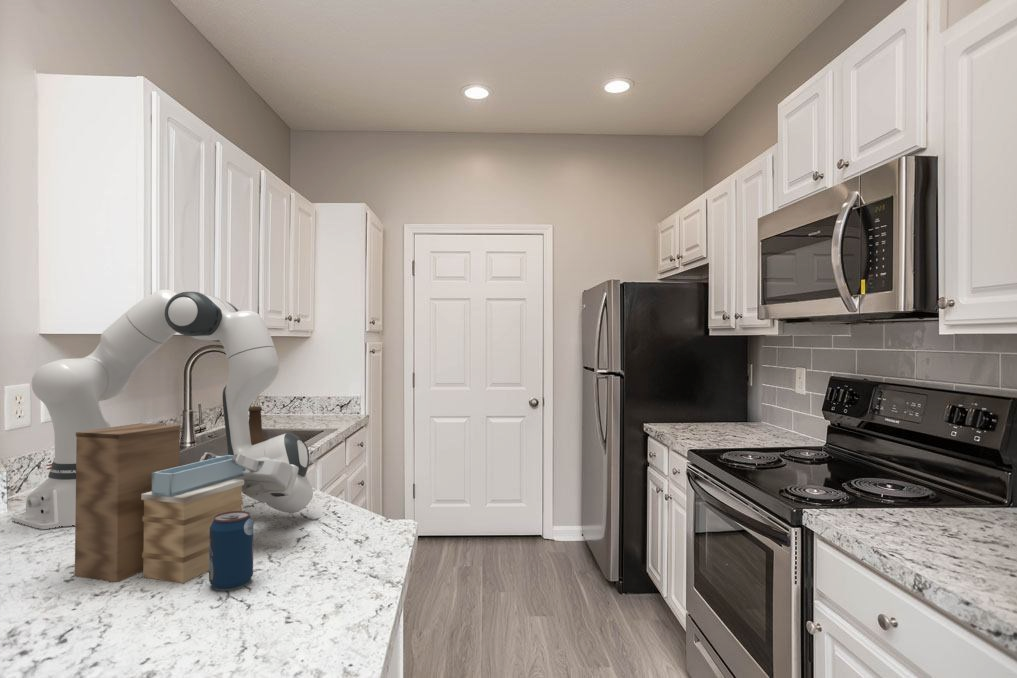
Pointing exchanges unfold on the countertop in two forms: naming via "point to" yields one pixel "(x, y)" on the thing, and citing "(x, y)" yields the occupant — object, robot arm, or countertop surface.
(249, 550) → the soda can
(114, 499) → the walnut stand
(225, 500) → the oak crate
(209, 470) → the blue-gray container
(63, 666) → the countertop surface
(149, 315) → the robot arm
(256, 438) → the beer bottle
